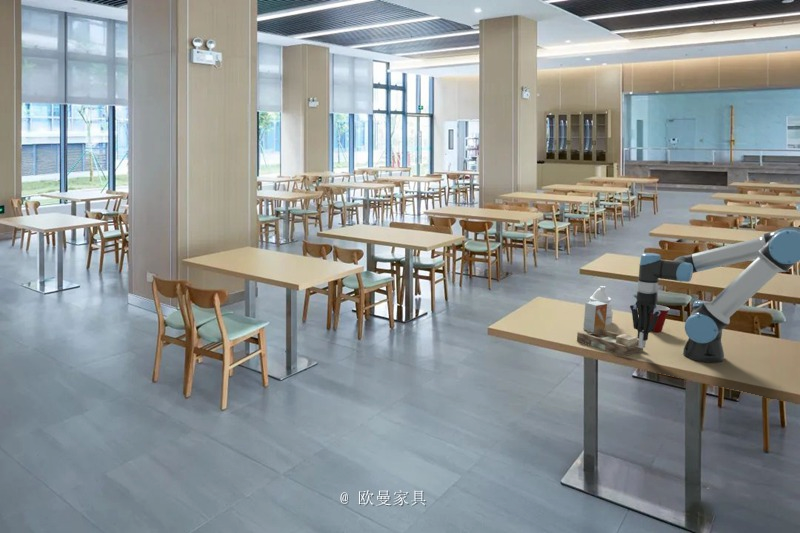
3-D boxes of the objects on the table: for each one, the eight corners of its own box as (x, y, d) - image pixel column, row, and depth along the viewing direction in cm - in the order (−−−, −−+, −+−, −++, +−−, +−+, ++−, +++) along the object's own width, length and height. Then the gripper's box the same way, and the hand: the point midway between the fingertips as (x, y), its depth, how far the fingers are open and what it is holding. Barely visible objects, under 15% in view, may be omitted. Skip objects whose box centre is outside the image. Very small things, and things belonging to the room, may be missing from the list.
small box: (593, 333, 293) (596, 305, 290) (582, 329, 298) (585, 302, 295) (605, 330, 297) (607, 303, 295) (594, 327, 302) (596, 300, 300)
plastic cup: (673, 333, 295) (675, 307, 293) (654, 335, 291) (657, 309, 289) (655, 326, 305) (658, 302, 302) (637, 328, 301) (640, 304, 298)
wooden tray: (642, 350, 270) (643, 341, 269) (624, 356, 262) (625, 346, 261) (595, 336, 288) (595, 327, 288) (576, 341, 281) (577, 332, 280)
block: (636, 346, 268) (637, 337, 267) (628, 349, 264) (628, 339, 264) (623, 342, 273) (624, 333, 272) (615, 345, 269) (616, 336, 268)
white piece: (616, 325, 307) (619, 288, 303) (591, 325, 305) (594, 288, 301) (604, 317, 319) (607, 282, 316) (580, 318, 317) (582, 282, 314)
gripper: (667, 293, 255) (661, 349, 260) (638, 287, 265) (632, 341, 270) (656, 295, 251) (650, 353, 255) (627, 289, 261) (622, 344, 265)
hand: (641, 347), depth 262 cm, fingers closed
